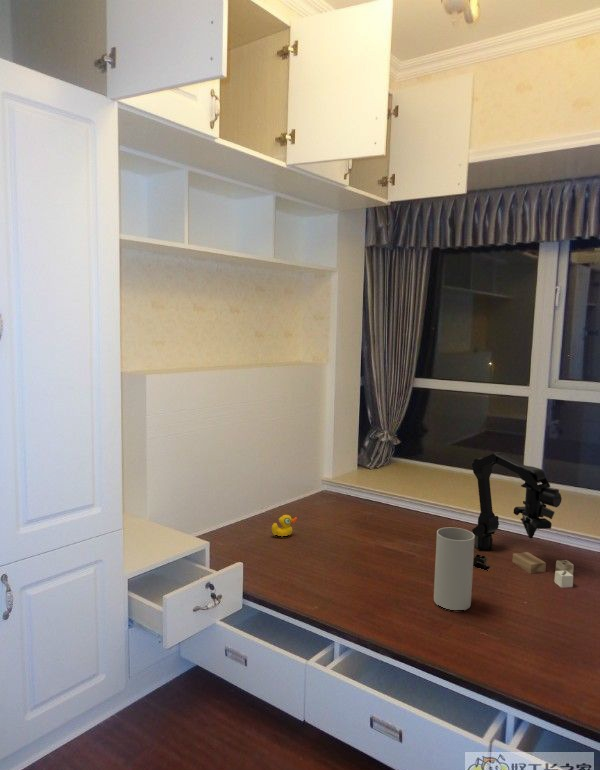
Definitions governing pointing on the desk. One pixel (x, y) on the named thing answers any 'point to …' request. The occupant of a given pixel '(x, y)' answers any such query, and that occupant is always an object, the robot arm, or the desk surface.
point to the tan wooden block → (529, 562)
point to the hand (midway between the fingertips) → (530, 538)
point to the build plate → (482, 560)
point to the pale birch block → (564, 566)
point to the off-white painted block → (563, 579)
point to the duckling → (283, 526)
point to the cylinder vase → (454, 568)
